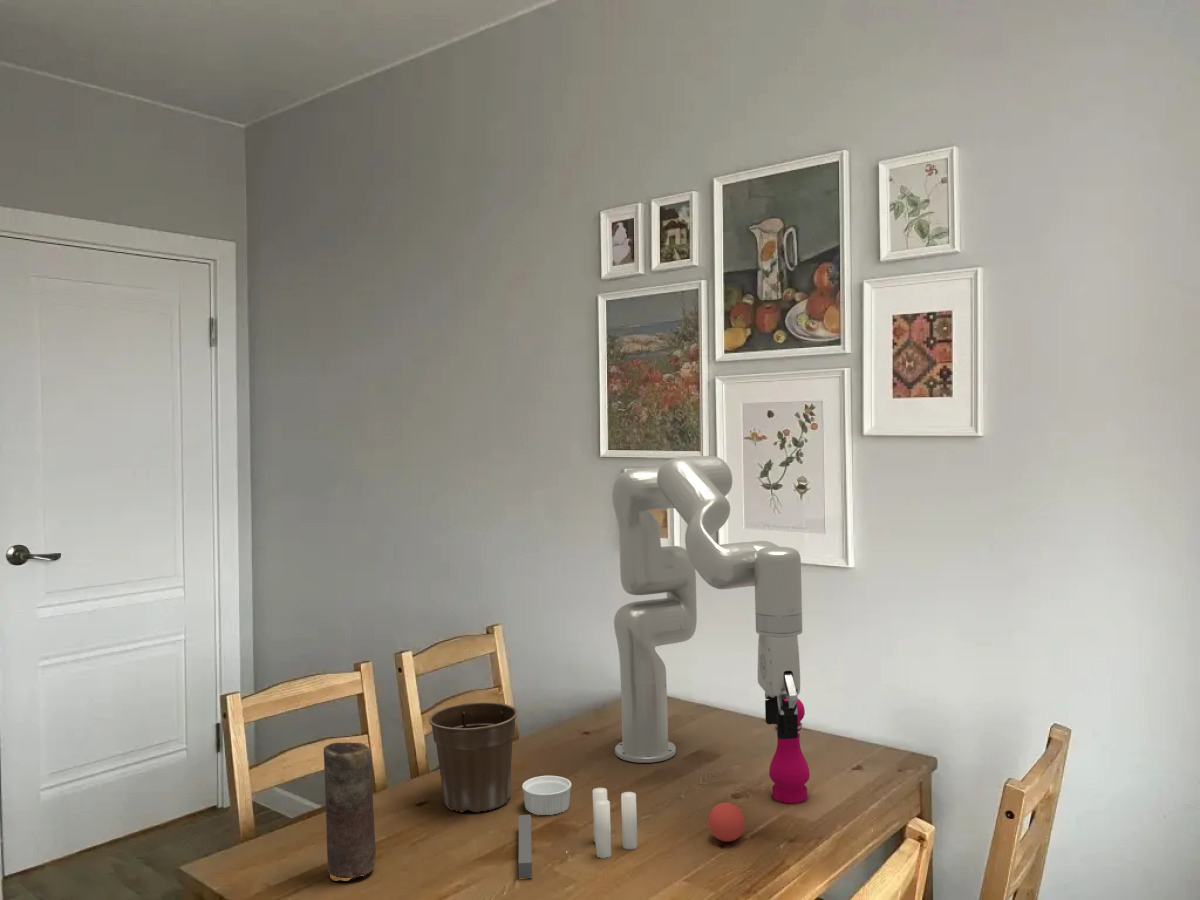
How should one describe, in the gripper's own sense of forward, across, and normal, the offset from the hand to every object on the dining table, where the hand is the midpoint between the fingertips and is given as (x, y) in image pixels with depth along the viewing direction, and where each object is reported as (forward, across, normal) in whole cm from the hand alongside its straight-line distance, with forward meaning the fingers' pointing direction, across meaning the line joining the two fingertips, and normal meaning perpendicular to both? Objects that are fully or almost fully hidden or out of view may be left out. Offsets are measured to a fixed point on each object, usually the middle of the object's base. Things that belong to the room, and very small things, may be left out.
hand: (781, 729), depth 160 cm
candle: (+18, +3, -70) cm, 72 cm away
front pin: (+18, 0, -26) cm, 31 cm away
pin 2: (+18, +2, -30) cm, 35 cm away
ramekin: (+18, -18, -38) cm, 46 cm away
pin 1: (+18, -2, -30) cm, 35 cm away
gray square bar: (+18, 0, -42) cm, 46 cm away
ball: (+15, 0, -10) cm, 18 cm away
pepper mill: (+18, -16, +6) cm, 25 cm away
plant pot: (+18, -23, -52) cm, 59 cm away
